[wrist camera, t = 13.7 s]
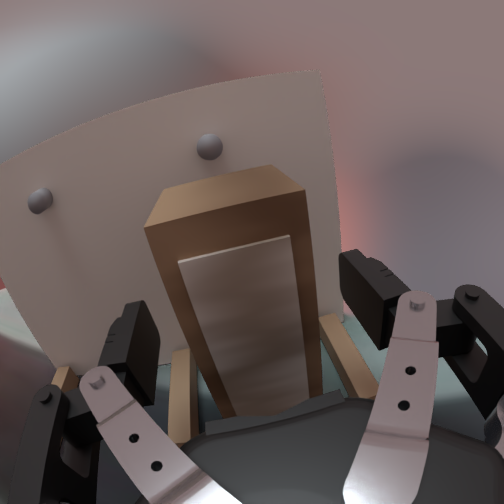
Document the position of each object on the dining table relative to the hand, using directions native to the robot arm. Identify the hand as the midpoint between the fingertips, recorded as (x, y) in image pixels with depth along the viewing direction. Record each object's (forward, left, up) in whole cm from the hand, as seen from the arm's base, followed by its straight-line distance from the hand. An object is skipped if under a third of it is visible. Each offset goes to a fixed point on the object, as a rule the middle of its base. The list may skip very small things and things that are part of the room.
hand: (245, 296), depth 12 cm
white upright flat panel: (-5, +2, -8) cm, 9 cm away
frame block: (0, 0, -8) cm, 8 cm away
